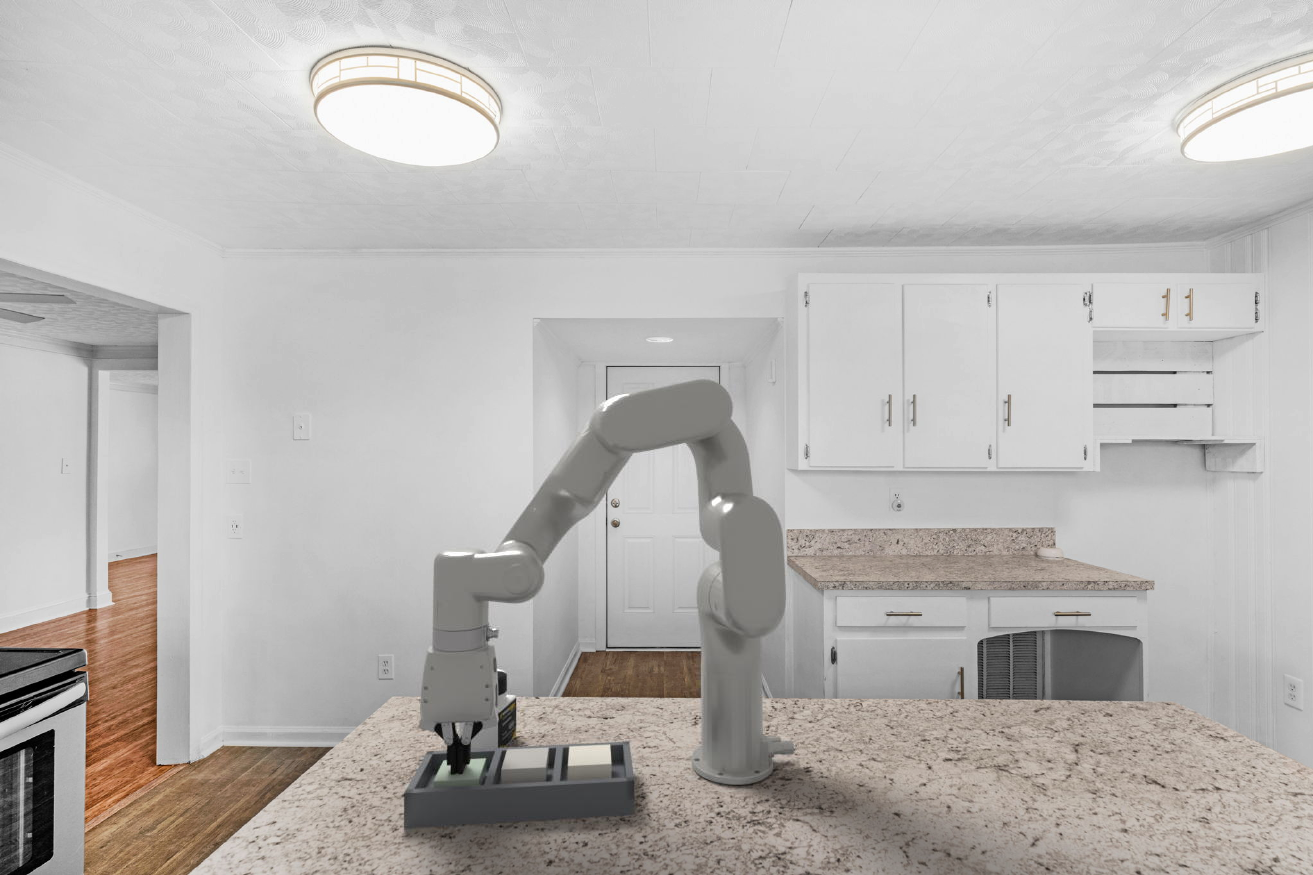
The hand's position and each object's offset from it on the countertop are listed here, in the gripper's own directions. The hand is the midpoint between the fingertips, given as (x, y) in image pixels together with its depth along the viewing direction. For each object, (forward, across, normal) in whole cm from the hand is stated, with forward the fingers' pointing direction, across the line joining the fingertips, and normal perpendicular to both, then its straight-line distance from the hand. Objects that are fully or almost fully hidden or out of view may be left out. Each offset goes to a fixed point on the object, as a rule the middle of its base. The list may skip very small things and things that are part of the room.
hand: (458, 769), depth 90 cm
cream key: (+1, -18, 0) cm, 18 cm away
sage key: (+2, 0, 0) cm, 2 cm away
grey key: (+1, -9, 0) cm, 9 cm away
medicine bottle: (+5, -1, -18) cm, 19 cm away
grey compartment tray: (+4, -9, 0) cm, 10 cm away
